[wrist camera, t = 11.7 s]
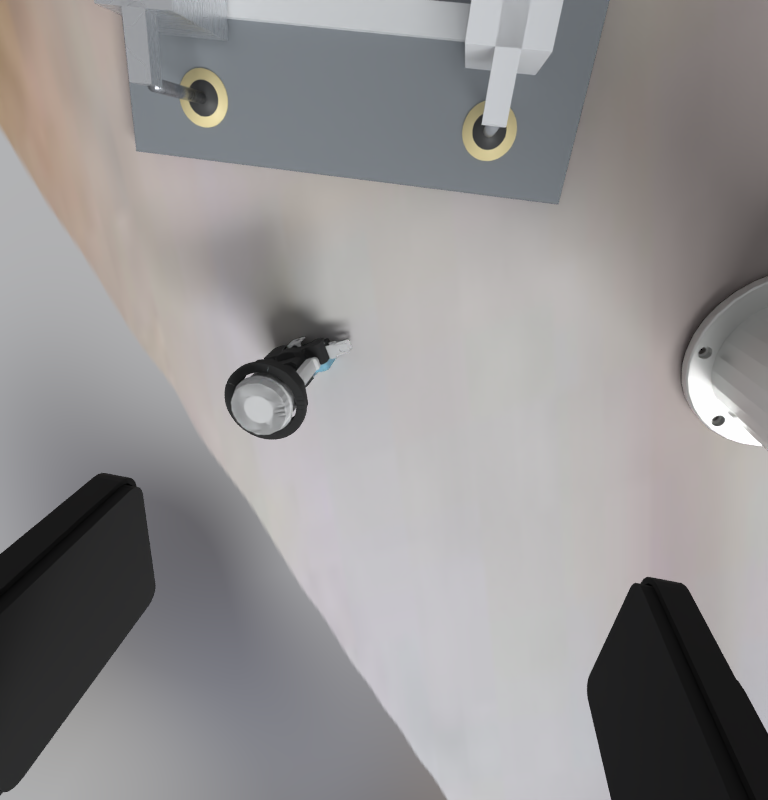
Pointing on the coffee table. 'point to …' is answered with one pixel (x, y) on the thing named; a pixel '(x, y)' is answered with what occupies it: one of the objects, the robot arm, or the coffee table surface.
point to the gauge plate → (384, 91)
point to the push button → (279, 386)
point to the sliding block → (170, 15)
